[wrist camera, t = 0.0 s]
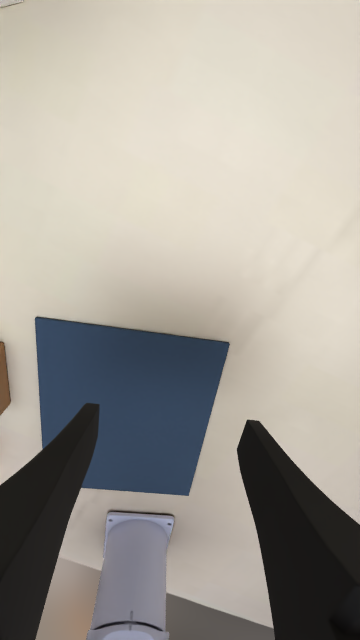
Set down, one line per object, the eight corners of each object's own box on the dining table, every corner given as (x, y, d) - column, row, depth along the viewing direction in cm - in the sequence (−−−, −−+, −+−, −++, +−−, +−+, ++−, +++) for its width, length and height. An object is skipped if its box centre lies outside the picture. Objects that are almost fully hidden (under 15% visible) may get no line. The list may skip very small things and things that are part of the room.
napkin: (188, 493, 30) (188, 495, 30) (45, 482, 28) (44, 485, 28) (229, 342, 22) (229, 344, 22) (36, 316, 21) (34, 318, 20)
